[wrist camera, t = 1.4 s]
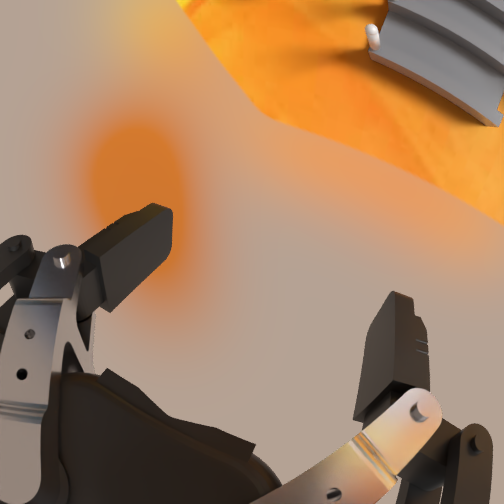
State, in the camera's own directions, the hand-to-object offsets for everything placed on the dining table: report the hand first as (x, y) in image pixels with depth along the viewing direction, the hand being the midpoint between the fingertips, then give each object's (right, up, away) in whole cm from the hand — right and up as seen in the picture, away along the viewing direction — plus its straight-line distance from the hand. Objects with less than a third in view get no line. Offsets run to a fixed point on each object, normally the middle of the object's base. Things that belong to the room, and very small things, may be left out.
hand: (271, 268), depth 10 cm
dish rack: (+21, +25, +7) cm, 33 cm away
